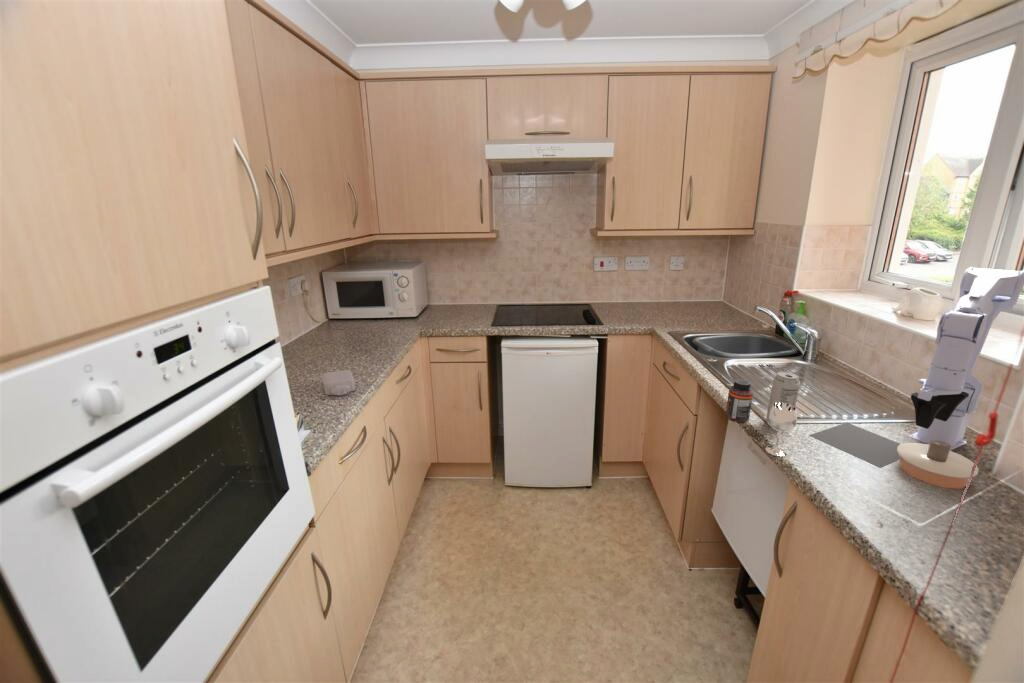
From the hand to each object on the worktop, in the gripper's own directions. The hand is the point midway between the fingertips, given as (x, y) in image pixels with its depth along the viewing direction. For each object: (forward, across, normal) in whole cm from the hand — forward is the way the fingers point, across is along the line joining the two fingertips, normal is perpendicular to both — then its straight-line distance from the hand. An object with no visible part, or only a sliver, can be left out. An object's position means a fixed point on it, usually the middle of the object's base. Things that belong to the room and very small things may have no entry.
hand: (931, 422), depth 99 cm
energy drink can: (+10, +14, -25) cm, 30 cm away
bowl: (+10, +4, +4) cm, 11 cm away
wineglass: (+10, +26, -17) cm, 33 cm away
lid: (+6, +4, +4) cm, 8 cm away
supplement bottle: (+10, +20, -33) cm, 40 cm away
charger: (+10, +120, -102) cm, 158 cm away
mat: (+10, +4, -10) cm, 15 cm away
